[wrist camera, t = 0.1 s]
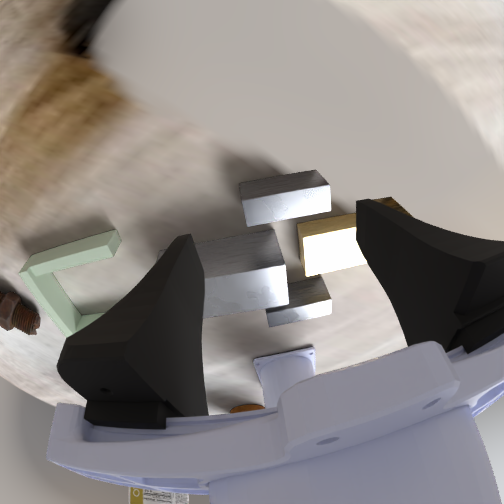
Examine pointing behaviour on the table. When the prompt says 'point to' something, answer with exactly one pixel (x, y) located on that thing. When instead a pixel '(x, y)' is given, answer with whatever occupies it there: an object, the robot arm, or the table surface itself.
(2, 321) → the bolt
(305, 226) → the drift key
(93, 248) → the pale green c-shaped piece
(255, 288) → the matte gray brick
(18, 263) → the table surface
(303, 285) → the socket
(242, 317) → the table surface
